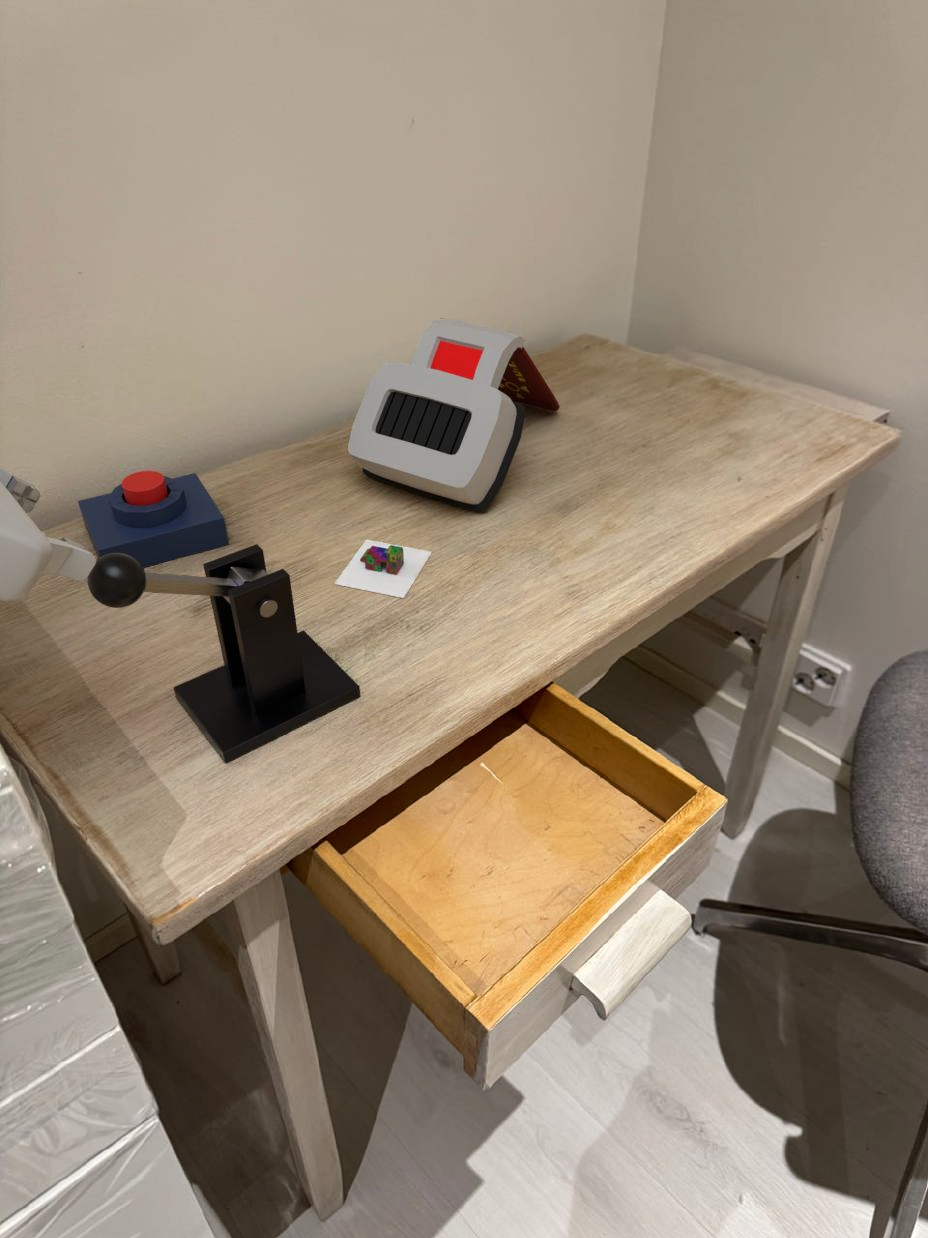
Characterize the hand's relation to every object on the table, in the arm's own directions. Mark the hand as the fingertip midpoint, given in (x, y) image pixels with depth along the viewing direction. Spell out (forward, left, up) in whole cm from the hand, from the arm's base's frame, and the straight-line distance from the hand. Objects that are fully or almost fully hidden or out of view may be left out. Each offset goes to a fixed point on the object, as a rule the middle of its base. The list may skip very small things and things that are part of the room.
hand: (58, 530), depth 55 cm
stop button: (+9, +29, -15) cm, 34 cm away
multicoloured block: (+27, +13, -20) cm, 36 cm away
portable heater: (+46, +29, -20) cm, 58 cm away
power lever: (+6, 0, -8) cm, 10 cm away
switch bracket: (+11, +1, -20) cm, 23 cm away
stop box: (+9, +29, -20) cm, 37 cm away
